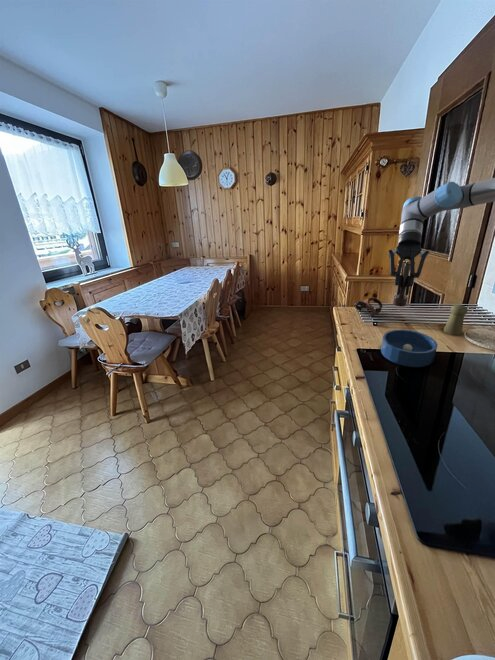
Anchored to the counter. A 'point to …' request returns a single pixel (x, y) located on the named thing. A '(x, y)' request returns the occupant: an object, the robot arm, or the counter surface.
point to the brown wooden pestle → (402, 288)
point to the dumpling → (407, 347)
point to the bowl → (417, 357)
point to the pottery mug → (369, 306)
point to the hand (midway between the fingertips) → (402, 293)
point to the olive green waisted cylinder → (455, 320)
